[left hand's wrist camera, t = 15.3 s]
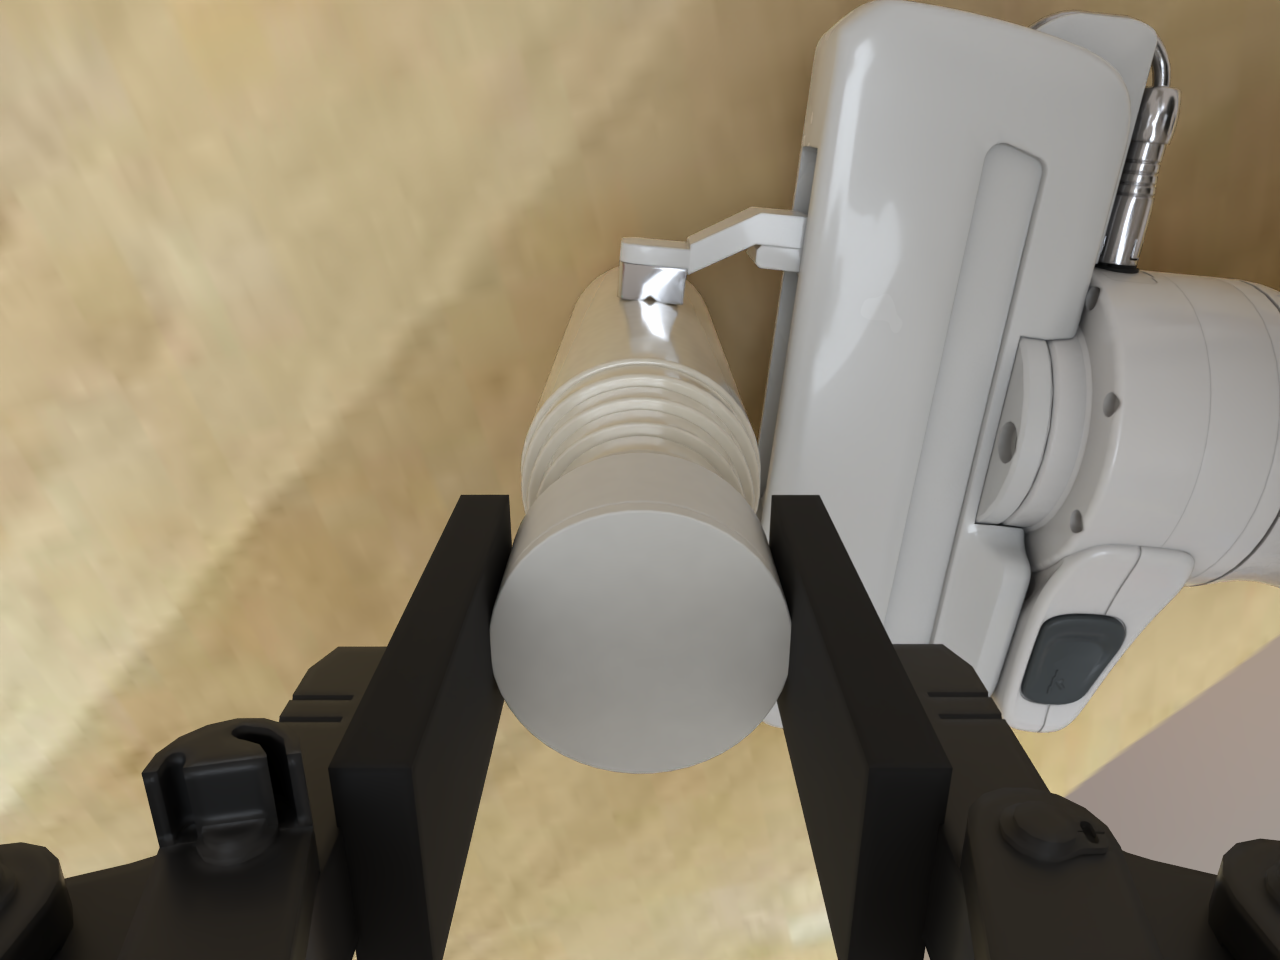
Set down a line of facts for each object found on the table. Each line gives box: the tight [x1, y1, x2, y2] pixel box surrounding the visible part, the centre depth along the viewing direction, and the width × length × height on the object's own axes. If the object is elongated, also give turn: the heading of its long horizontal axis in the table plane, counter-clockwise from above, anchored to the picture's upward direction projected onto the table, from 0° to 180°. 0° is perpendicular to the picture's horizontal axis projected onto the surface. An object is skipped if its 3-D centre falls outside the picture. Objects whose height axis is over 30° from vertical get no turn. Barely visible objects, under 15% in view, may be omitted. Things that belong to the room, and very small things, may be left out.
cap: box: [490, 453, 791, 774], centre depth 14 cm, size 4×4×2 cm
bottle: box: [521, 266, 761, 514], centre depth 22 cm, size 5×5×20 cm
